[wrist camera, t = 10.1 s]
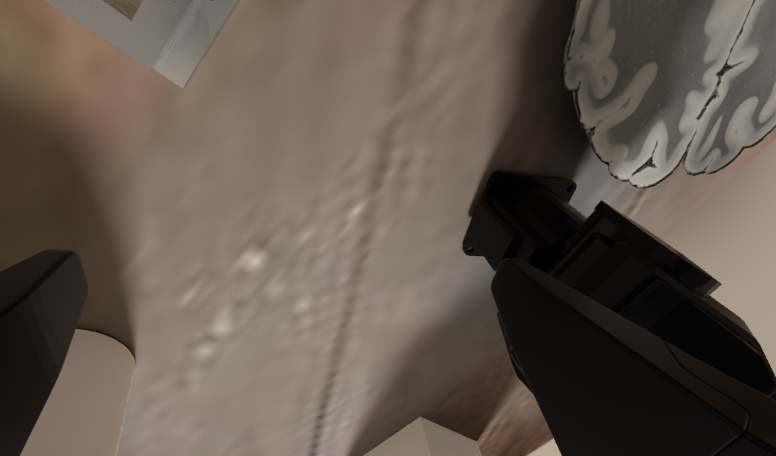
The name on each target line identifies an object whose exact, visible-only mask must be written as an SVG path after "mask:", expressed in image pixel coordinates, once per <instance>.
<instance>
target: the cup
mask: <svg viewBox="0 0 776 456" xmlns="http://www.w3.org/2000/svg"><path fill="white" fill-rule="evenodd" d="M134 370H135V360H134V357H133V355H132V353H131V352H130V351H129V350H128V349H127V348H126V347H125V346H124V345H123V344H121V343H120V342H118V341H117V340H115V339H113V338H111V337H108V336H106V335H103V334H100V333H97V332H93V331H88V330H80V329H76V330H75V333H74V336H73V339H72V341H71V344H70V347H69V350H68V353H67V356H66V359H65V362H64V364H63V367H62V370H61V372H60V375H59V377H58V379H57V381H56V383H55V386H54V388H53V390H52V392H51V394H50V396H49V398H48V400H47V402H46V404H45V406H44V408H43V410H42V412H41V414H40V416H39V418H38V420H37V422H36V424H35V426H34V428H33V430H32V432H31V434H30V436H29V439H28V441H27V443H26V445H25V447H24V449H23V451H22V453H21V455H20V456H117V451H118V446H119V442H120V437H121V432H122V427H123V422H124V418H125V413H126V408H127V403H128V399H129V394H130V389H131V384H132V379H133V375H134Z"/></svg>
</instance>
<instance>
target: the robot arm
mask: <svg viewBox="0 0 776 456" xmlns="http://www.w3.org/2000/svg"><path fill="white" fill-rule="evenodd" d="M498 177H501V178H500V180H498V181H496V180H497V178H498ZM568 186H569V187H568ZM567 187H568V188H567ZM576 187H577V186H576V183H575V182H573V181H572V180H569V179H562V178H555V177H547V176H540V175H532V174H525V173H517V172H510V171H502V170H497V171H495V172H494V173H492V175H491V176H490V179H489V181H488V184H487V187H486V189H485V192H484V194H483V197H482V199H481V201H480V202H479V204H478V207H477V209H476V212H475V214H474V217H473V219H472V222H471V224H470V227H469V229H468V234H467V237H466V239H465V242H464V244H463V247H462V249H463V251H464V253H465V254H466V255H468V256H484V257H485V259H486V260H487V262H488V263H489V264H490V266H491V267H492V269H493V270H494V271H497V272H496V274H495V276H494V278H493V280H492V283H491V290H492V294H493V297H494V300H495V302H496V305H497V308H498V311H499V312H498V313H497V316H498V320H499V323H500V326H501V329H502V333H503V336H504V339H505V342H506V346H507V349H508V352H509V355H510V359H511V362H512V364H513V367H514V369H515V372H516V375H517V377H518V378H519V379H520V380H521V381H522V382H523V383H524V384H525V386H526V387H527V388H528V389H529V390H530V391H531V392H532V393H533V394H534V397H535V399H536V401H537V403H538V405H539V407H540V410H541V412H542V414H543V416H544V418H545V420H546V422H547V425H548V427H549V429H550V431H551V433H552V435H553V438H554V440H555V442H556V444H557V446H558V448H559V451H560V453H561V455H562V456H776V377H775V375H774V373H773V371H772V368H771V367H770V364H769V362H768V360H767V358H766V356H765V354H764V352H763V350H762V348H761V346H760V344H759V343H758V341H757V340H756V338H755V337H754V335H753V334H752V332H751V331H750V330H749V328H748V326H747V325H746V324H745V322H744V321H743V320H742V319H741V318H740V317H738V316H737V315H736V314H734V313H733V312H732V311H730V310H729V309H728V308H726V307H725V306H723V305H722V304H721V303H719V302H718V301H716V300H715V299H714V298H712V297H711V296H710V294H711V293H712V292H713V291H715V290H716V289H717V288H718V287H719V286H721V285H722V284H721V283H720V282H718V281H717V280H716V279H714V278H713V277H712V276H710V275H709V274H708V273H707V272H705V271H704V270H703V269H701V268H700V267H699V266H697V265H696V264H695V263H693V262H692V261H691V260H689V259H688V258H687V257H685V256H684V255H683V254H681V253H680V252H678V251H677V250H675V249H674V248H673V247H671V246H670V245H668V244H667V243H665V242H664V241H662V240H661V239H659V238H658V237H657V236H655V235H654V234H652V233H651V232H649V231H648V230H646V229H645V228H643V227H642V226H640V225H639V224H637V223H636V222H634V221H632V220H631V219H629V218H628V217H626V216H625V215H623V214H622V213H620V212H619V211H617V210H615V209H614V208H612V207H611V206H609V205H608V204H606V203H605V202H603V201H602V200H601V201H600V203H599V204H598V205H597V206H596V207H595V208H594V209H595V211H594V212H593V213H592V214H591V215H590V216H589V217H588V218H586V217H585V216H584V215H582V214H581V213H580V212H579V211H577V210H576V209H575V208H574V207H572V206H571V205H570V204H569V201H570V199H571V197H572V195H573V193H574V192H575V190H576ZM470 247H472V248H471V249H469V248H470ZM87 293H88V285H87V281H86V277H85V274H84V270H83V267H82V263H81V260H80V257H79V255H78V253H77V252H75V251H73V250H45V251H42V252H40V253H38V254H36V255H34V256H32V257H30V258H28V259H26V260H24V261H22V262H20V263H18V264H16V265H13V266H11V267H9V268H7V269H5V270H3V271H1V272H0V456H20V455H21V453H22V451H23V449H24V447H25V445H26V443H27V441H28V439H29V436H30V434H31V432H32V430H33V428H34V426H35V424H36V422H37V420H38V418H39V416H40V414H41V412H42V410H43V408H44V406H45V404H46V402H47V400H48V398H49V396H50V394H51V392H52V390H53V388H54V386H55V383H56V381H57V379H58V377H59V375H60V372H61V370H62V367H63V364H64V362H65V359H66V356H67V353H68V350H69V347H70V344H71V341H72V339H73V336H74V333H75V330H76V327H77V324H78V321H79V318H80V315H81V312H82V310H83V307H84V304H85V301H86V298H87Z"/></svg>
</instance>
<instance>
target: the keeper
mask: <svg viewBox="0 0 776 456" xmlns="http://www.w3.org/2000/svg"><path fill="white" fill-rule="evenodd" d="M44 1H46V2H47V3H49V4H50V5H52V6H53V7H55V8H56V9H58V10H59V11H61V12H62V13H64V14H65V15H67V16H68V17H70V18H71V19H73V20H74V21H76V22H77V23H79V24H80V25H82V26H83V27H85V28H86V29H88V30H89V31H91V32H92V33H94V34H95V35H97V36H98V37H100V38H101V39H103V40H104V41H106V42H107V43H109V44H110V45H112V46H113V47H115V48H116V49H118V50H119V51H121V52H122V53H124V54H125V55H127V56H128V57H130V58H131V59H133V60H134V61H136V62H137V63H139V64H140V65H142V66H143V67H145V68H147V69H148V70H150V71H151V70H153V69H154V70H156V71H157V72H159V73H160V74H162V75H163V76H165V77H166V78H168V79H169V80H171V81H172V82H174V83H175V84H177V85H178V86H180V87H181V88H183V87H184V86H185V85H186V84H187V82H188V80H189V79H190V77H191V76H192V74H193V73H194V71H195V69H196V68H197V66H198V65H199V63H200V61H201V60H202V58H203V57H204V55H205V54H206V52H207V50H208V49H209V47H210V46H211V44H212V42H213V41H214V39H215V38H216V36H217V35H218V33H219V31H220V30H221V28H222V27H223V25H224V24H225V22H226V20H227V19H228V17H229V16H230V14H231V12H232V11H233V9H234V8H235V6H236V5H237V3H238V1H239V0H44Z"/></svg>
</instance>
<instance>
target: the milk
mask: <svg viewBox="0 0 776 456" xmlns="http://www.w3.org/2000/svg"><path fill="white" fill-rule="evenodd" d="M364 456H482V455H481V452H480V450H479V447H478V444H477V441H474V440H472V439H470V438H467V437H465V436H463V435H461V434H458V433H456V432H454V431H452V430H449V429H447V428H445V427H443V426H440V425H438V424H436V423H433V422H431V421H429V420H427V419H424V418H422V417H419V418H417V419H416V420H414V421H413V422H412V423H410V424H409V425H407V426H406V427H404V428H403V429H401V430H400V431H398V432H397V433H396V434H394V435H393V436H391V437H390V438H388V439H387V440H385V441H384V442H382V443H381V444H380V445H378V446H377V447H375V448H374V449H372V450H371V451H369V452H368V453H366V454H365V455H364Z"/></svg>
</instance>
